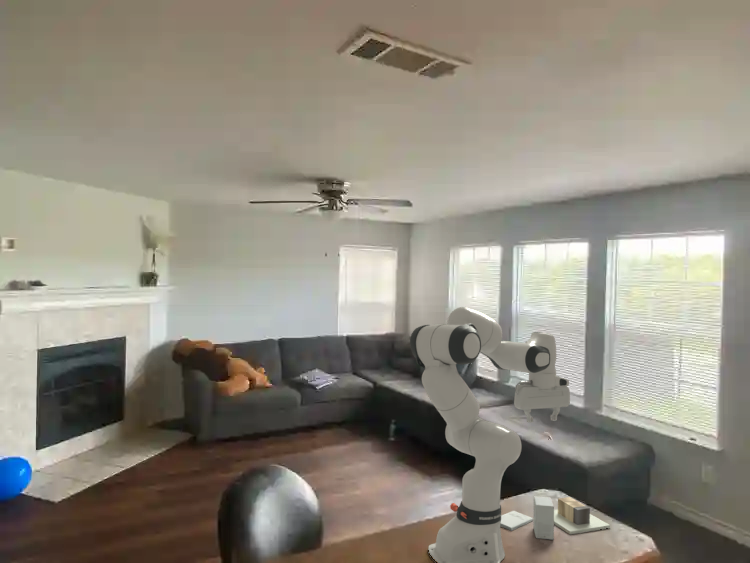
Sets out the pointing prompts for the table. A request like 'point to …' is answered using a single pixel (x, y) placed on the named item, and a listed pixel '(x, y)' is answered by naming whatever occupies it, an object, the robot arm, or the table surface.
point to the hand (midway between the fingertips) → (541, 421)
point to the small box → (543, 518)
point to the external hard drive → (514, 520)
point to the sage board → (573, 528)
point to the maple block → (574, 511)
